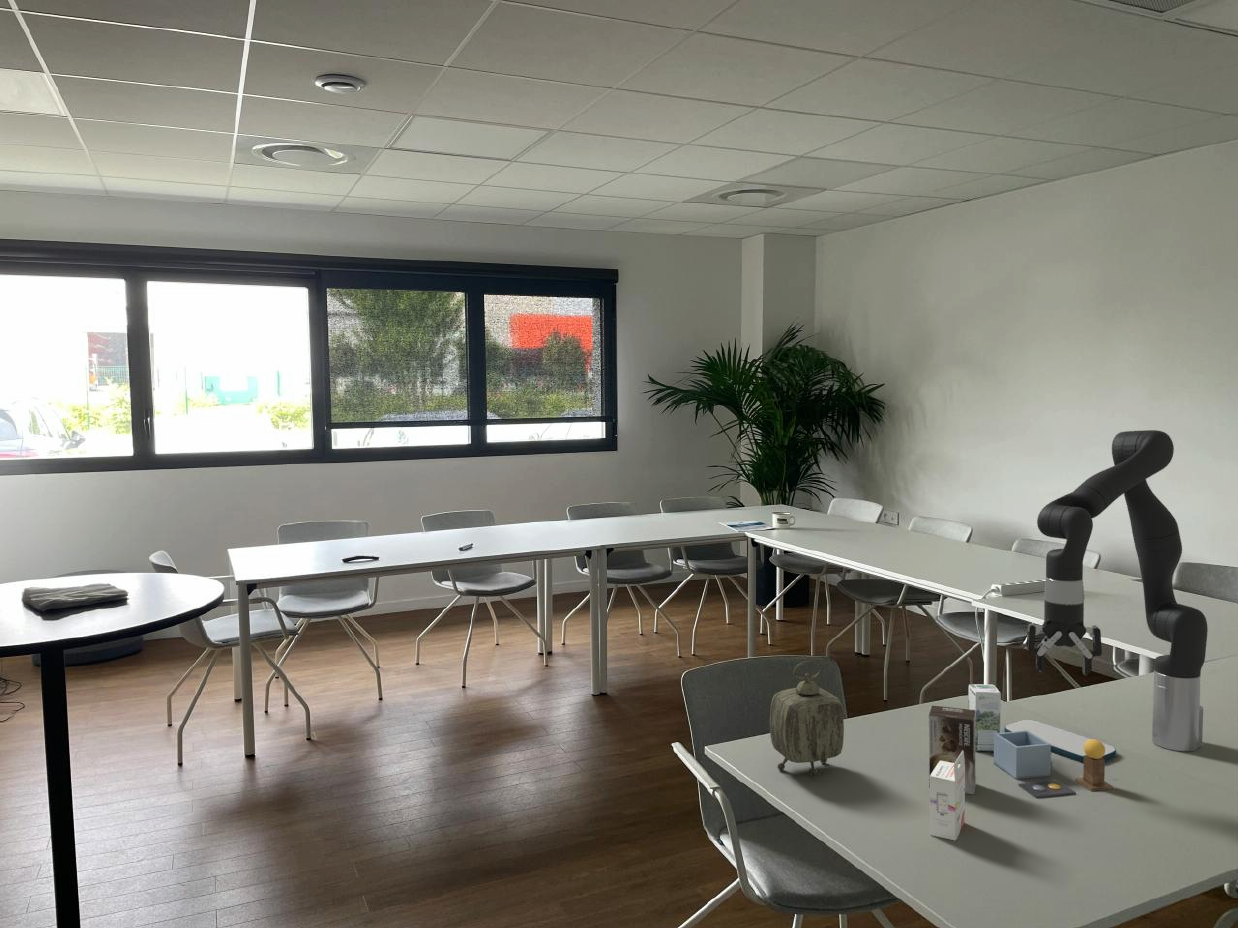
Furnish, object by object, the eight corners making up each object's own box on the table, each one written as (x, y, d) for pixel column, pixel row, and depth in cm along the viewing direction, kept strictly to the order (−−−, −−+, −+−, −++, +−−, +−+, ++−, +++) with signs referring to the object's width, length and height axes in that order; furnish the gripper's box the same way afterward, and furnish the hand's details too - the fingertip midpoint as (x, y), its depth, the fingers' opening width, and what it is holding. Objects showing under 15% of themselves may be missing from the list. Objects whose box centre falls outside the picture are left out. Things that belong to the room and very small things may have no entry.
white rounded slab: (1122, 757, 202) (1122, 748, 202) (1092, 768, 196) (1093, 760, 196) (1027, 725, 222) (1027, 717, 222) (998, 735, 216) (998, 727, 216)
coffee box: (976, 782, 190) (976, 709, 188) (974, 795, 184) (975, 719, 182) (931, 776, 193) (931, 704, 192) (928, 788, 188) (928, 713, 186)
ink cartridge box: (938, 816, 175) (939, 744, 174) (965, 822, 172) (966, 749, 171) (928, 835, 168) (929, 759, 167) (956, 841, 165) (956, 765, 164)
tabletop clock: (826, 759, 203) (826, 652, 201) (848, 775, 195) (848, 663, 193) (769, 768, 199) (768, 659, 197) (789, 785, 190) (788, 671, 188)
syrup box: (992, 742, 211) (992, 683, 210) (1000, 752, 205) (1001, 691, 204) (967, 742, 212) (968, 682, 210) (974, 752, 206) (975, 691, 205)
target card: (1056, 781, 189) (1056, 778, 189) (1075, 793, 183) (1075, 791, 183) (1018, 785, 188) (1018, 782, 188) (1036, 797, 182) (1036, 795, 182)
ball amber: (1096, 753, 189) (1096, 735, 189) (1109, 761, 185) (1109, 742, 185) (1079, 755, 189) (1079, 736, 188) (1092, 762, 185) (1092, 744, 184)
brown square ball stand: (1095, 778, 190) (1096, 751, 190) (1112, 788, 186) (1113, 760, 185) (1075, 780, 190) (1075, 753, 189) (1091, 790, 185) (1091, 763, 184)
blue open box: (1026, 760, 200) (1027, 730, 200) (1050, 775, 192) (1050, 744, 192) (993, 763, 199) (994, 733, 198) (1016, 779, 191) (1016, 747, 190)
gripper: (1097, 596, 190) (1096, 669, 192) (1025, 593, 194) (1024, 665, 196) (1105, 604, 183) (1104, 680, 184) (1030, 601, 187) (1029, 676, 189)
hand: (1063, 673), depth 190 cm, fingers open, 8 cm apart
